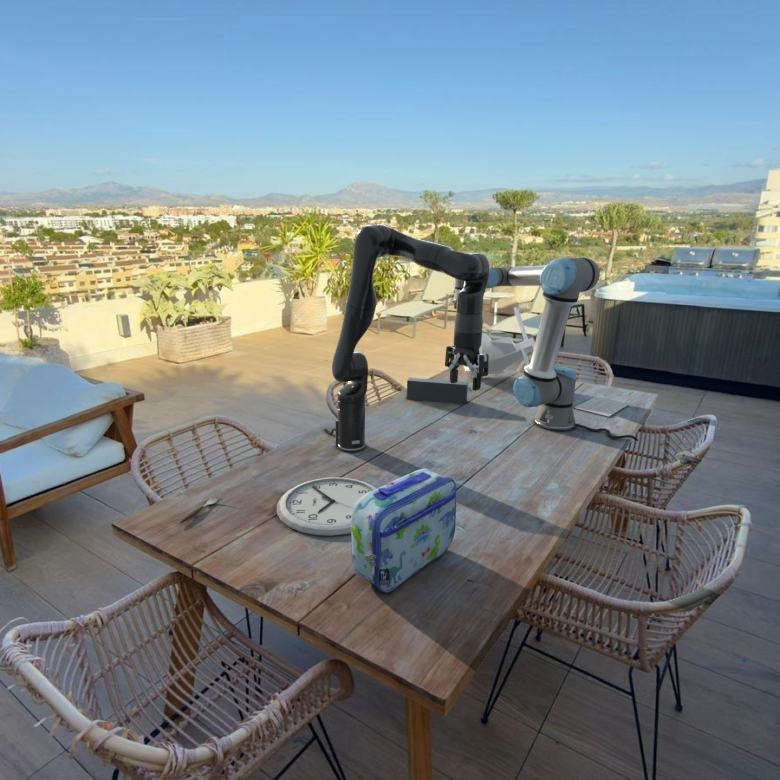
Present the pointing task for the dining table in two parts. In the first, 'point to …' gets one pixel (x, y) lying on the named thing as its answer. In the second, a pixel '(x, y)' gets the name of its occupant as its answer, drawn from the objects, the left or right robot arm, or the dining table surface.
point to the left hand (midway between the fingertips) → (464, 386)
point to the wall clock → (322, 505)
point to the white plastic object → (504, 350)
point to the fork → (209, 502)
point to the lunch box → (402, 527)
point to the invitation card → (601, 406)
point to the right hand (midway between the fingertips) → (460, 349)
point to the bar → (437, 390)
